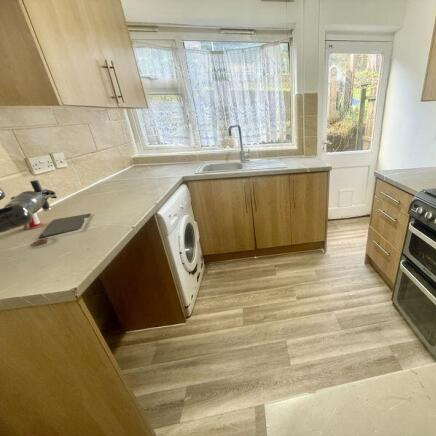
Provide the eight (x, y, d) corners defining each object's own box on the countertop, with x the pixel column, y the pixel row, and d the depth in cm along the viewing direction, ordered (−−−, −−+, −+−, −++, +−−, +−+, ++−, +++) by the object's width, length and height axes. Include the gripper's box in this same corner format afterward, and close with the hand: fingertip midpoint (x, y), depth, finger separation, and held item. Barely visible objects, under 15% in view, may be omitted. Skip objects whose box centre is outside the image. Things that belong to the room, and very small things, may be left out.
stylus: (43, 211, 103) (29, 181, 98) (44, 210, 105) (31, 180, 100) (50, 210, 104) (37, 181, 99) (51, 208, 106) (38, 179, 101)
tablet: (39, 239, 103) (38, 237, 102) (54, 221, 120) (53, 219, 120) (83, 230, 109) (83, 228, 109) (91, 214, 127) (90, 213, 127)
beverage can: (22, 228, 114) (4, 198, 107) (39, 222, 119) (23, 193, 113) (29, 230, 111) (11, 199, 105) (46, 224, 117) (30, 194, 110)
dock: (29, 248, 96) (28, 247, 95) (35, 241, 101) (34, 240, 101) (52, 244, 99) (51, 243, 98) (57, 237, 104) (56, 236, 104)
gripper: (47, 190, 92) (59, 181, 106) (-5, 197, 86) (15, 186, 100) (56, 209, 95) (66, 197, 109) (6, 216, 89) (24, 203, 103)
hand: (42, 192), depth 104 cm, fingers closed on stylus, 2 cm apart
